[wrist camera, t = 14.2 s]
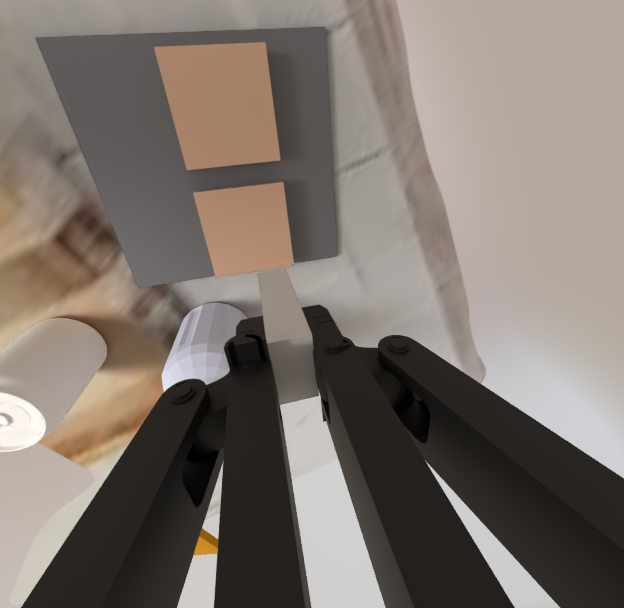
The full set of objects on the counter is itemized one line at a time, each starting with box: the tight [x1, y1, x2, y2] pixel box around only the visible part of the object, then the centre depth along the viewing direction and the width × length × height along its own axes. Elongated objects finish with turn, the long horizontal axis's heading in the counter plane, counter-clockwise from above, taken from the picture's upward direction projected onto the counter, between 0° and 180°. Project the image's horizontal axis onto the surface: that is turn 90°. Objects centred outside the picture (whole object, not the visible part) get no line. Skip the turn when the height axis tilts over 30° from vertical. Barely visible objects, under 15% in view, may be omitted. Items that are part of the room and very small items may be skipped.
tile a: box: [154, 42, 280, 170], centre depth 26 cm, size 2×9×9 cm
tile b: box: [193, 181, 294, 277], centre depth 31 cm, size 2×9×9 cm
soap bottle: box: [162, 303, 248, 555], centre depth 27 cm, size 9×9×25 cm
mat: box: [36, 27, 337, 288], centre depth 30 cm, size 24×22×1 cm
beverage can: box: [0, 318, 107, 452], centre depth 29 cm, size 8×8×12 cm
